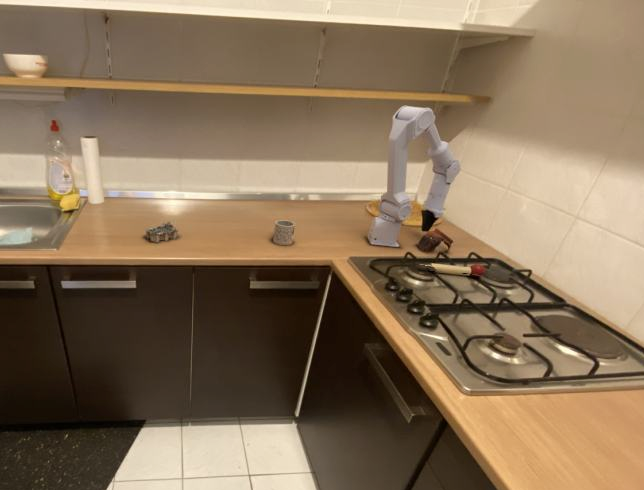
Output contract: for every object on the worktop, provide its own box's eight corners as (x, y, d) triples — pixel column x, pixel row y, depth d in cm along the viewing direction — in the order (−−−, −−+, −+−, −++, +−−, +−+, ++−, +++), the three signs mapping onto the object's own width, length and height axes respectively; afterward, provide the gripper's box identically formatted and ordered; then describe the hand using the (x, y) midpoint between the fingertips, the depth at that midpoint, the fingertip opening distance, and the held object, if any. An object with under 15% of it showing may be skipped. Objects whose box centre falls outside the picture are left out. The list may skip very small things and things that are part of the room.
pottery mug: (415, 243, 140) (433, 225, 136) (436, 260, 137) (456, 242, 134) (414, 245, 130) (434, 225, 126) (437, 263, 127) (458, 244, 123)
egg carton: (170, 231, 139) (170, 220, 137) (180, 238, 134) (180, 227, 132) (143, 236, 134) (143, 224, 132) (152, 243, 129) (152, 231, 127)
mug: (294, 244, 133) (297, 226, 129) (276, 245, 132) (279, 226, 128) (284, 234, 141) (287, 216, 138) (267, 234, 140) (269, 217, 137)
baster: (419, 273, 117) (424, 263, 115) (417, 265, 120) (422, 255, 117) (482, 280, 115) (489, 270, 112) (478, 271, 118) (485, 262, 115)
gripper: (457, 200, 128) (443, 238, 134) (442, 189, 140) (430, 225, 147) (435, 198, 129) (422, 236, 135) (422, 188, 141) (410, 223, 148)
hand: (424, 230), depth 141 cm, fingers closed
